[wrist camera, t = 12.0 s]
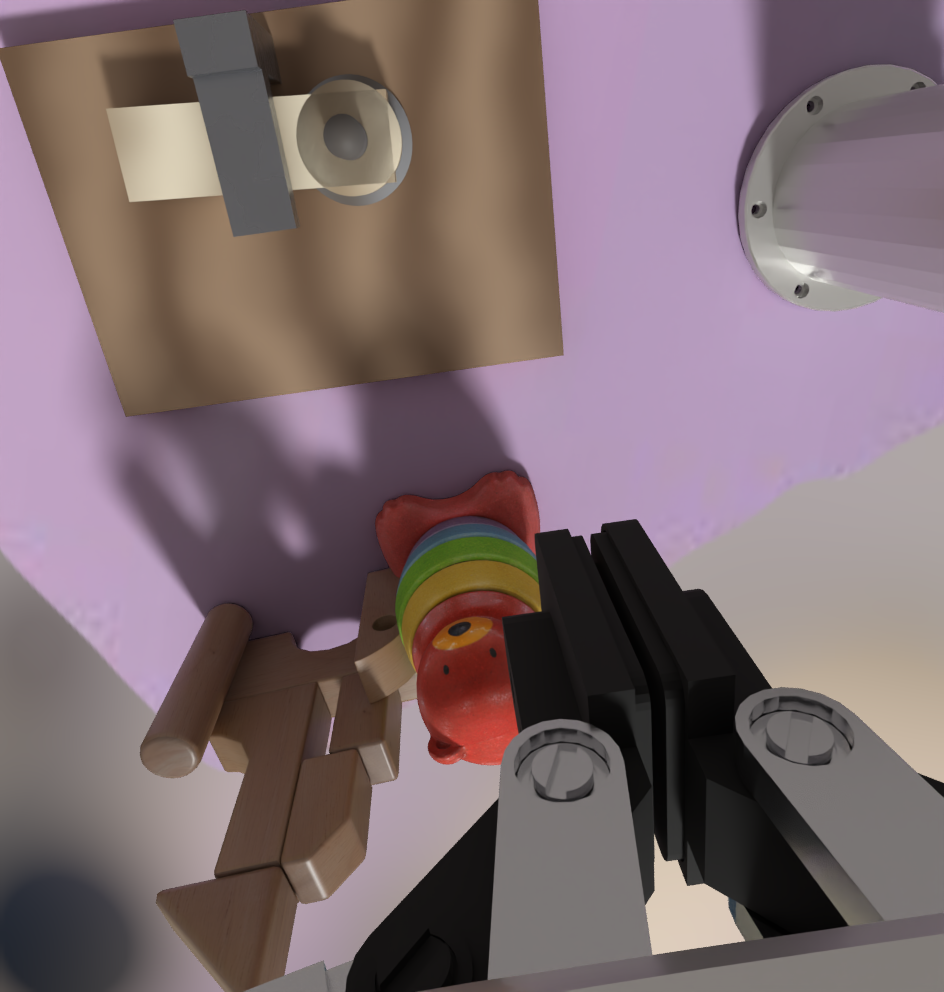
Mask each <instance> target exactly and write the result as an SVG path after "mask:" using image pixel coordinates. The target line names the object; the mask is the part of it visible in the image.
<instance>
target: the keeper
mask: <svg viewBox="0 0 944 992" xmlns="http://www.w3.org/2000/svg"><path fill="white" fill-rule="evenodd" d="M173 22H174V26H175V30H176V34H177V37H178V41H179V45H180V49H181V53H182V57H183V61H184V65H185V69H186V72H187V76H188V77H191V78H193V80H194V84H195V88H196V92H197V96H198V100H199V104H200V107H201V111H202V115H203V119H204V123H205V127H206V131H207V135H208V139H209V143H210V147H211V151H212V155H213V159H214V163H215V166H216V170H217V174H218V178H219V182H220V186H221V190H222V194H223V198H224V202H225V206H226V210H227V214H228V218H229V221H230V225H231V229H232V233H233V237H237V236H245V235H252V234H259V233H266V232H273V231H280V230H288V229H295V228H299V227H300V222H299V217H298V213H297V208H296V204H295V199H294V194H293V190H292V185H291V180H290V176H289V171H288V166H287V162H286V157H285V152H284V148H283V143H282V138H281V134H280V129H279V124H278V120H277V115H276V111H275V106H274V101H273V97H272V92H271V87H270V85H275V84H282V81H281V76H280V71H279V67H278V62H277V57H276V52H275V47H274V43H273V38H272V35H271V34H270V33H268V32H267V31H266V30H265V29H264V28H263V27H262V26H261V25H260V24H259V23H258V22H257V21H256V20H255V19H254V18H253V17H252V16H251V15H250V14H249V13H248V12H247V11H246V10H242V11H235V12H228V13H220V14H213V15H206V16H199V17H191V18H184V19H177V20H173Z"/></svg>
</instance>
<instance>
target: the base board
mask: <svg viewBox="0 0 944 992" xmlns="http://www.w3.org/2000/svg"><path fill="white" fill-rule="evenodd" d="M250 15H251V16H252V17H253V18H254V19H255V20H256V21H257V22H258V23H259V24H260V25H261V26H262V27H263V28H264V29H265V30H266V31H267V32H268V33H270V34H271V35H272V38H273V43H274V47H275V52H276V57H277V62H278V67H279V71H280V76H281V81H282V84H275V85H270V87H271V92H272V97H279V96H293V95H307V94H312V93H313V92H314V91H315V90H316V89H318V88H319V87H321V86H322V85H324V84H326V83H328V82H332V81H335V80H354V81H358V82H361V83H364V84H366V85H368V86H370V87H372V88H373V89H375V90H377V89H386V91H387V93H388V102H389V105H390V106H391V108H392V110H393V111H394V113H395V115H396V118H397V120H398V123H399V126H400V129H401V134H402V155H401V160H400V163H399V166H398V168H397V170H396V179H397V182H394V183H387V184H385V185H384V186H383V187H382V188H380V189H379V190H377V191H375V192H373V193H370V194H366V195H361V196H344V195H340V194H336V193H334V192H332V191H330V190H328V189H326V188H313V189H300V190H293V194H294V199H295V204H296V208H297V213H298V217H299V222H300V227H299V228H295V229H288V230H280V231H273V232H266V233H259V234H252V235H245V236H237V237H233V233H232V229H231V225H230V221H229V218H228V214H227V210H226V206H225V202H224V198H223V195H220V196H206V197H193V198H180V199H166V200H153V201H138V202H129V198H128V194H127V190H126V186H125V182H124V178H123V175H122V171H121V167H120V163H119V159H118V155H117V151H116V147H115V143H114V139H113V135H112V131H111V127H110V123H109V119H108V115H107V111H106V109H109V108H123V107H137V106H151V105H166V104H180V103H194V102H199V100H198V96H197V92H196V88H195V84H194V80H193V78H191V77H188V76H187V72H186V69H185V65H184V61H183V57H182V53H181V49H180V45H179V41H178V37H177V34H176V30H175V26H174V24H172V25H165V26H157V27H150V28H143V29H136V30H128V31H121V32H114V33H107V34H100V35H92V36H85V37H78V38H71V39H63V40H56V41H49V42H42V43H34V44H27V45H20V46H13V47H5V48H0V60H1V63H2V66H3V68H4V71H5V74H6V77H7V80H8V83H9V86H10V88H11V91H12V94H13V97H14V100H15V103H16V105H17V108H18V111H19V114H20V117H21V120H22V123H23V125H24V128H25V131H26V134H27V137H28V140H29V142H30V145H31V148H32V151H33V154H34V157H35V160H36V162H37V165H38V168H39V171H40V174H41V177H42V179H43V182H44V185H45V188H46V191H47V194H48V197H49V199H50V202H51V205H52V208H53V211H54V214H55V216H56V219H57V222H58V225H59V228H60V231H61V234H62V236H63V239H64V242H65V245H66V248H67V251H68V253H69V256H70V259H71V262H72V265H73V268H74V271H75V273H76V276H77V279H78V282H79V285H80V288H81V290H82V293H83V296H84V299H85V302H86V305H87V308H88V310H89V313H90V316H91V319H92V322H93V325H94V327H95V330H96V333H97V336H98V339H99V342H100V345H101V347H102V350H103V353H104V356H105V359H106V362H107V364H108V367H109V370H110V373H111V376H112V379H113V382H114V384H115V387H116V390H117V393H118V396H119V399H120V401H121V404H122V407H123V410H124V413H125V416H126V417H128V416H135V415H142V414H149V413H157V412H164V411H171V410H178V409H185V408H192V407H199V406H206V405H213V404H220V403H228V402H235V401H242V400H249V399H256V398H263V397H270V396H277V395H284V394H291V393H299V392H306V391H313V390H320V389H327V388H334V387H341V386H348V385H355V384H362V383H370V382H377V381H384V380H391V379H398V378H405V377H412V376H419V375H426V374H433V373H440V372H448V371H455V370H462V369H469V368H476V367H483V366H490V365H497V364H504V363H511V362H519V361H526V360H533V359H540V358H547V357H554V356H561V355H564V354H563V340H562V326H561V312H560V298H559V284H558V270H557V256H556V242H555V228H554V214H553V200H552V186H551V172H550V159H549V145H548V131H547V117H546V103H545V89H544V75H543V61H542V47H541V33H540V19H539V5H538V0H346V1H339V2H331V3H324V4H317V5H310V6H302V7H295V8H288V9H281V10H273V11H266V12H259V13H252V14H250Z"/></svg>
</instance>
